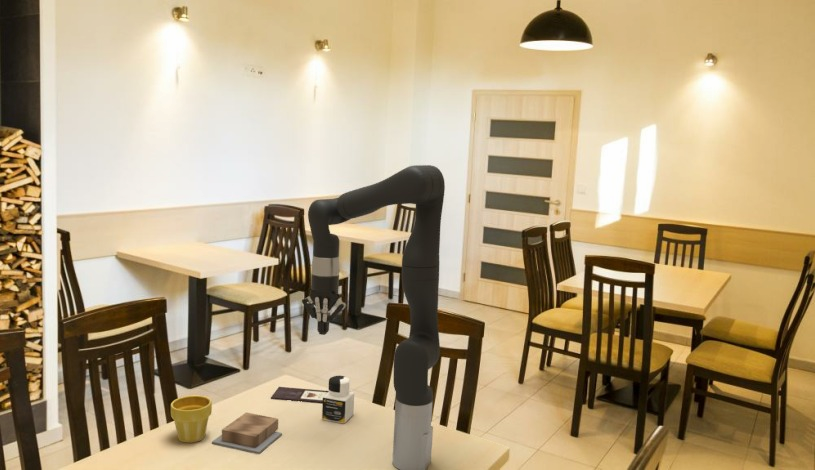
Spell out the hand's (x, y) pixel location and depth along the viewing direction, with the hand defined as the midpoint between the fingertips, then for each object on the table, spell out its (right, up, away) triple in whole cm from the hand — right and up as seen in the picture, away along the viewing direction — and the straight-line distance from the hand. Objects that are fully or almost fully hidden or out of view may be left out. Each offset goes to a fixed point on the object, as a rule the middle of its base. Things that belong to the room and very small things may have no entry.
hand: (323, 333), depth 185 cm
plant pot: (-34, -27, -6) cm, 44 cm away
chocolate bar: (-9, -24, +25) cm, 36 cm away
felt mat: (-19, -27, -6) cm, 34 cm away
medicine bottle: (+3, -26, +11) cm, 28 cm away
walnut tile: (-17, -24, +1) cm, 29 cm away
